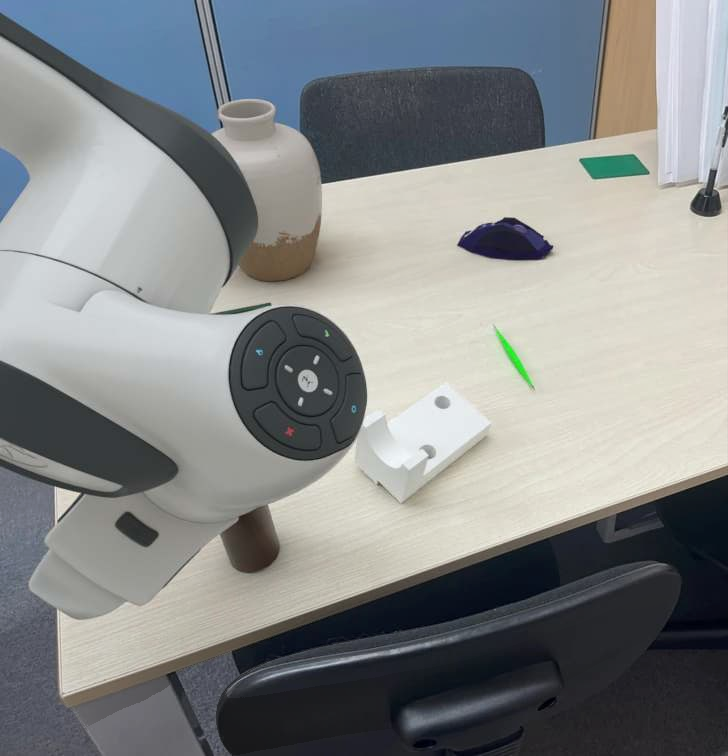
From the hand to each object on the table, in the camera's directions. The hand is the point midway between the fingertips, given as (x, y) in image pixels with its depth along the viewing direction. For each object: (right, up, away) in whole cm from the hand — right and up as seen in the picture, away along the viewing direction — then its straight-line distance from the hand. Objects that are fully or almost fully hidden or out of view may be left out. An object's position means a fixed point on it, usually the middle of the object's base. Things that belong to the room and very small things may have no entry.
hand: (147, 489), depth 53 cm
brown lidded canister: (+3, -8, +14) cm, 16 cm away
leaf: (+28, +11, +37) cm, 47 cm away
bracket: (+18, 0, +24) cm, 30 cm away
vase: (-7, +25, +52) cm, 58 cm away
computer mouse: (+27, +29, +58) cm, 70 cm away
